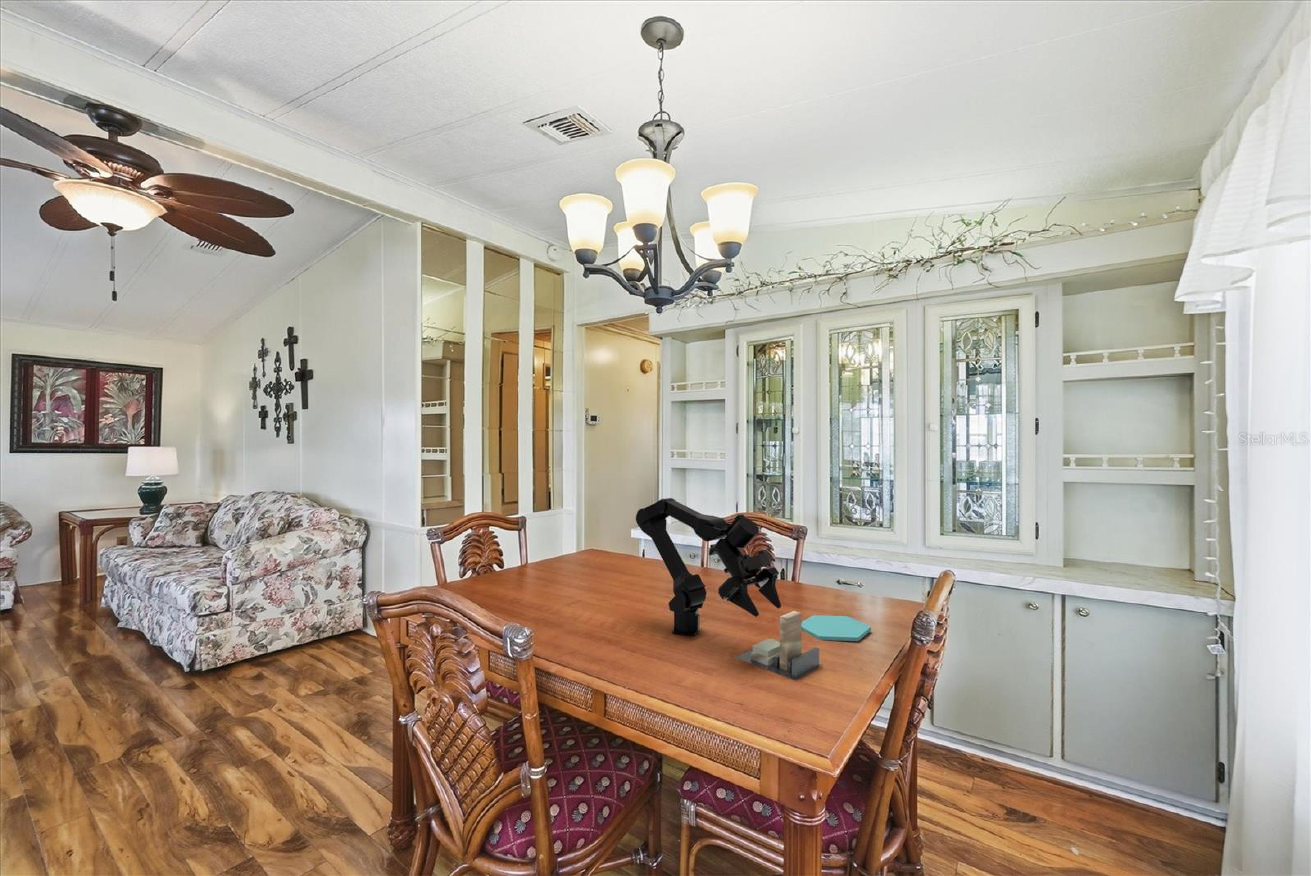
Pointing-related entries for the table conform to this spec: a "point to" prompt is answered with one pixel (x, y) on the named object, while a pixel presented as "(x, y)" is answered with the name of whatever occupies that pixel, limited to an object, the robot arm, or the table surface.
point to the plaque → (835, 628)
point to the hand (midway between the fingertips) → (769, 611)
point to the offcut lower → (763, 658)
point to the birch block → (790, 637)
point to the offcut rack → (789, 664)
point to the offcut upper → (767, 647)
